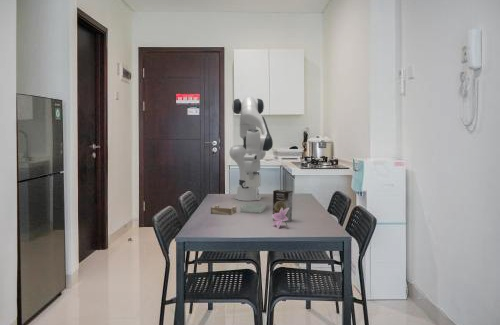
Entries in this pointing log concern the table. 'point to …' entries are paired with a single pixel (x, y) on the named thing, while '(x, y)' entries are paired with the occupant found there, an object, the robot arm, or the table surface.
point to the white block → (255, 182)
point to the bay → (223, 210)
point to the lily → (280, 217)
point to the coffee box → (282, 202)
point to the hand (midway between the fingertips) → (253, 179)
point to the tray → (253, 208)
